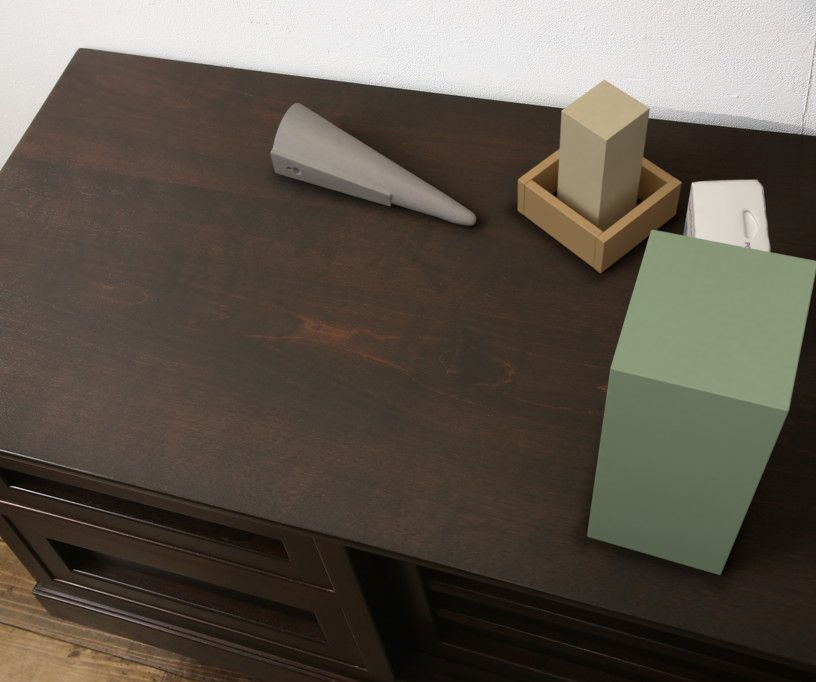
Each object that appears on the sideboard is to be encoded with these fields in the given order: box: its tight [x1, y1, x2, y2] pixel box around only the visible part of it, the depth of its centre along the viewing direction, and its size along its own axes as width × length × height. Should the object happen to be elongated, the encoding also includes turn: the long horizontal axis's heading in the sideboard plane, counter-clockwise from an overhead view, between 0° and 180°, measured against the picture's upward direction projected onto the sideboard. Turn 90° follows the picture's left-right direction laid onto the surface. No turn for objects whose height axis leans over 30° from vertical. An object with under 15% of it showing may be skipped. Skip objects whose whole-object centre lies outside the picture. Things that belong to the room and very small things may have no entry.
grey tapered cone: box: [270, 102, 477, 227], centre depth 96 cm, size 6×6×19 cm
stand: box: [586, 229, 816, 576], centre depth 68 cm, size 9×10×22 cm
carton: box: [556, 79, 651, 232], centre depth 87 cm, size 5×5×12 cm
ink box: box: [683, 179, 771, 252], centre depth 79 cm, size 9×5×12 cm, turn 172°
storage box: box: [517, 148, 683, 274], centre depth 90 cm, size 10×9×4 cm
